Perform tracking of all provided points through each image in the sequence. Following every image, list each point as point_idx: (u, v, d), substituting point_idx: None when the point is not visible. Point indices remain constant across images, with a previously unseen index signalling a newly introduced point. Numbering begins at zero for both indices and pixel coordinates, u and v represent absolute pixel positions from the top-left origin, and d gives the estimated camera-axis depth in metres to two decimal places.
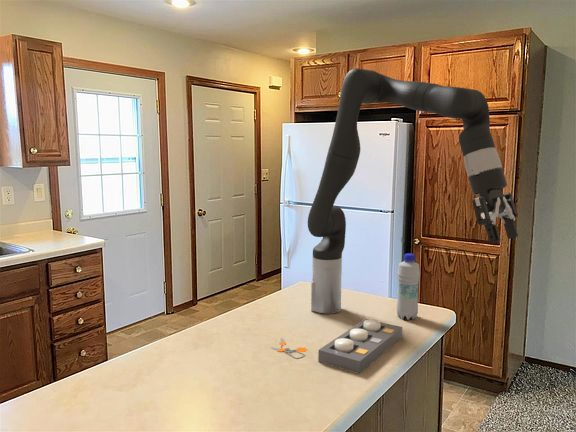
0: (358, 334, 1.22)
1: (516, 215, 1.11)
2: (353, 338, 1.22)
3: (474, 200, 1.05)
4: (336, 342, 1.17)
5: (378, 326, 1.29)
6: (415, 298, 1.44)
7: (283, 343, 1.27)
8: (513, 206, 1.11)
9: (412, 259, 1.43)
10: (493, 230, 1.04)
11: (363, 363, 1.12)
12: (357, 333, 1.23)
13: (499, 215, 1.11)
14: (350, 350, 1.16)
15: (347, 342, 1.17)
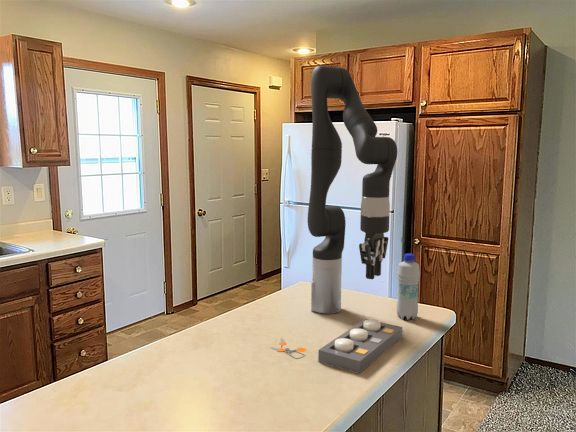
0: (358, 334, 1.22)
1: (384, 256, 1.31)
2: (353, 338, 1.22)
3: (361, 246, 1.22)
4: (336, 342, 1.17)
5: (378, 326, 1.29)
6: (415, 298, 1.44)
7: (283, 343, 1.27)
8: (385, 248, 1.31)
9: (412, 259, 1.43)
10: (371, 269, 1.26)
11: (363, 363, 1.12)
12: (357, 333, 1.23)
13: (372, 252, 1.30)
14: (350, 350, 1.16)
15: (347, 342, 1.17)
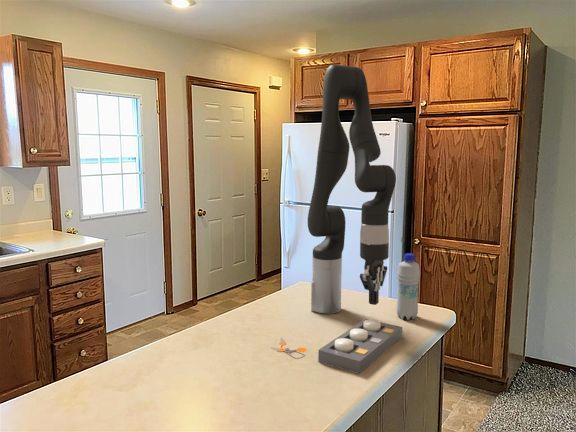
0: (358, 334, 1.22)
1: (381, 284, 1.30)
2: (353, 338, 1.22)
3: (361, 277, 1.24)
4: (336, 342, 1.17)
5: (378, 326, 1.29)
6: (415, 298, 1.44)
7: (283, 343, 1.27)
8: (383, 277, 1.31)
9: (412, 259, 1.43)
10: (374, 295, 1.28)
11: (363, 363, 1.12)
12: (357, 333, 1.23)
13: None
14: (350, 350, 1.16)
15: (347, 342, 1.17)
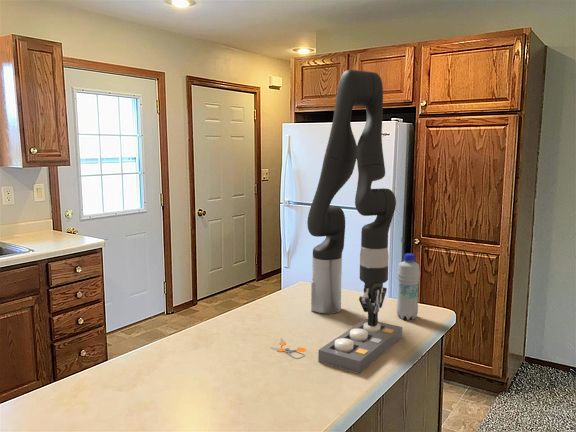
0: (358, 334, 1.22)
1: (380, 306, 1.31)
2: (353, 338, 1.22)
3: (361, 300, 1.25)
4: (336, 342, 1.17)
5: (378, 328, 1.29)
6: (415, 298, 1.44)
7: (283, 343, 1.27)
8: (382, 298, 1.32)
9: (412, 259, 1.43)
10: (373, 317, 1.29)
11: (363, 363, 1.12)
12: (357, 333, 1.23)
13: None
14: (350, 350, 1.16)
15: (347, 342, 1.17)
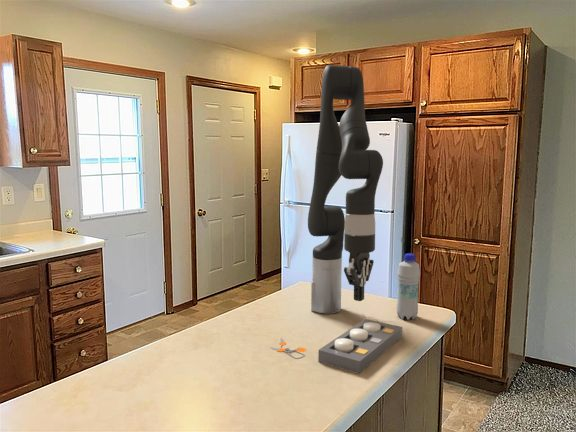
0: (358, 334, 1.22)
1: (367, 279, 1.21)
2: (353, 338, 1.22)
3: (346, 271, 1.14)
4: (336, 342, 1.17)
5: (378, 329, 1.29)
6: (415, 298, 1.44)
7: (283, 343, 1.27)
8: (369, 271, 1.22)
9: (412, 259, 1.43)
10: (359, 291, 1.18)
11: (363, 363, 1.12)
12: (357, 333, 1.23)
13: None
14: (350, 350, 1.16)
15: (347, 342, 1.17)
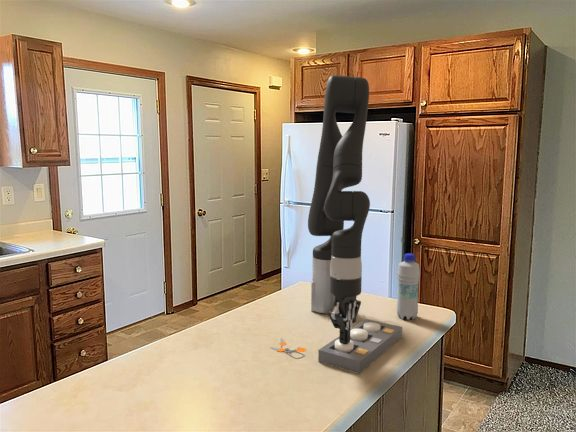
0: (358, 334, 1.22)
1: (353, 321, 1.18)
2: (353, 338, 1.22)
3: (330, 315, 1.12)
4: (336, 342, 1.17)
5: (378, 329, 1.29)
6: (415, 298, 1.44)
7: (283, 343, 1.27)
8: (356, 313, 1.19)
9: (412, 259, 1.43)
10: (345, 334, 1.16)
11: (363, 363, 1.12)
12: (357, 333, 1.23)
13: None
14: (350, 351, 1.16)
15: None
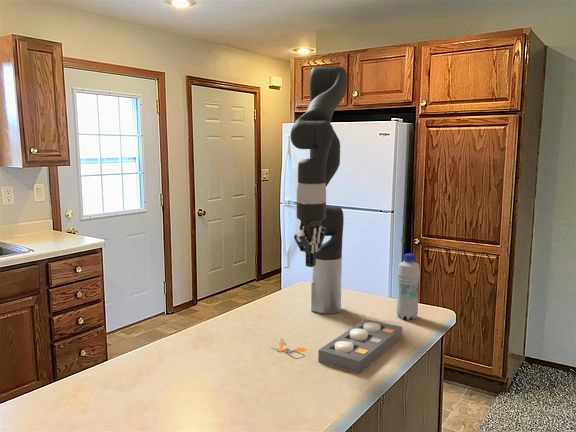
0: (358, 334, 1.22)
1: (319, 246, 1.26)
2: (353, 338, 1.22)
3: (296, 238, 1.19)
4: (336, 344, 1.18)
5: (378, 329, 1.29)
6: (415, 298, 1.44)
7: (283, 343, 1.27)
8: (322, 239, 1.26)
9: (412, 259, 1.43)
10: (310, 257, 1.23)
11: (363, 363, 1.12)
12: (357, 333, 1.23)
13: None
14: None
15: (346, 344, 1.18)
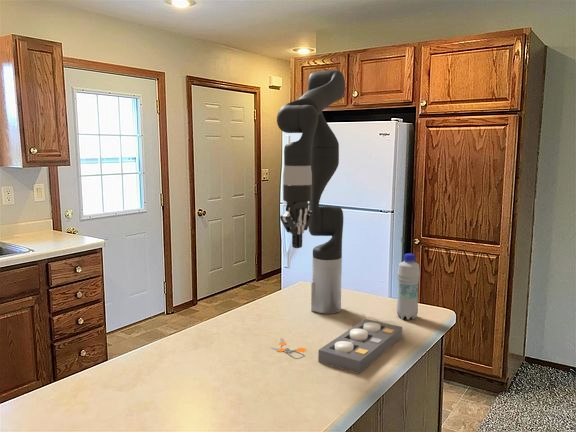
0: (358, 334, 1.22)
1: (305, 228, 1.29)
2: (353, 338, 1.22)
3: (282, 218, 1.23)
4: (336, 344, 1.18)
5: (378, 329, 1.29)
6: (415, 298, 1.44)
7: (283, 343, 1.27)
8: (308, 221, 1.30)
9: (412, 259, 1.43)
10: (297, 238, 1.27)
11: (363, 363, 1.12)
12: (357, 333, 1.23)
13: None
14: None
15: (346, 344, 1.18)
